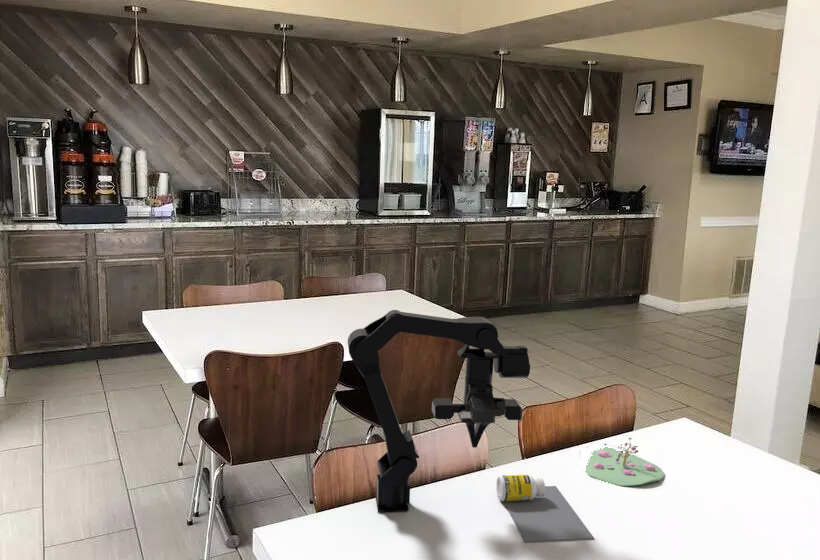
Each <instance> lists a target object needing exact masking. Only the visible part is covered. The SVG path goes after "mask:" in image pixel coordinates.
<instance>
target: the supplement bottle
mask: <svg viewBox="0 0 820 560" xmlns="http://www.w3.org/2000/svg"><path fill="white" fill-rule="evenodd" d="M545 486H546V485H545V481H544V479H543V477H533V476H532V475H531V474H505V475H498V477H497V479H496V488H497V490H496V494H497V498H498V500H499V501H500V502H503V501H521V500H532V499H533V498H534V497H535V496H537V497H540V496H544V494H545Z"/></svg>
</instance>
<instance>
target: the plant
mask: <svg viewBox="0 0 820 560" xmlns="http://www.w3.org/2000/svg"><path fill="white" fill-rule="evenodd" d="M628 440H629V441H631V440H632V437H629V438H628ZM627 446H628V447H627ZM625 447H627V449H626V448H625ZM638 447H639V446H638V445H633V446H632V444H631V443H628V442H625V443H624V447H623V444H620V446H617V448H618V449H621V450H623V451H625V453H623V451H616V450H615V449H613V448H608V447H605V448H603V450H602V449H601V448H600V450H598V449H597V450H598V451H596V450H595V451H593V453H592V452H591V453H592V455H593V456H591V457H590V459H589V460H590V461H589V460H588V462H589V463H587V464H588V465H586V471H585V472H586V473H587V474H588V475H587V474H586V473H585V472H584V473H585V474H586V475H587V476H589V477H591V476H592V477H593V478H592V477H591V478H592V479H594V478H595V480H596V479H598V480H597V481H599V480H601V481H600V482H602V481H604V482H603V483H606V482H608V483H607V484H610V483H611V484H610V485H613V484H614V486H619V487H634V486H640V485H645V484H649V483H653V482H654V483H655V482H659V481H661V480H662V479H664V478H665V472H664V471H663V469H662V468H660V467H659V466H658V465H657V464H654V463H652V462H650V461H648V460H646V459H643V458H642V457H639V456H638V455H635V454H637V453H639V450H638V449H637V448H638ZM630 449H631V450H630ZM629 453H630V454H629ZM631 454H633V455H631ZM590 455H591V454H590Z"/></svg>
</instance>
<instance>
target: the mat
mask: <svg viewBox="0 0 820 560" xmlns="http://www.w3.org/2000/svg"><path fill="white" fill-rule="evenodd" d="M496 489H497V487H496ZM502 502H503V505H504V506H505V507H506V509H507V511H508V513H509V515H510V516H511V519H512V521H513V522H514V524H515V526H516V527H517V530H518V531H519V533H520V535H521V537H522V539H523V540H524V542H525V543H544V542H546V543H547V542H561V541H563V542H565V541H581V540H583V541H585V540H594V539H595V537H594V536H593V533H591V531H590V530H589V528H588V527H587V526H586V525H585V523H584V522H583V521H582V520H581V518H580V517H579V515H578V514H577V513H576V511H575V510H574V508H573V507H572V506H571V504H570V503H569V502H568V501H567V499H566V498H565V496H564V495H563V494H562V492H561V491H560V490H559V488H558V487H557V485H550V486H549V485H548V486H547V485H545V494H544V496H540V497H537V496H535V497H534V498H533V499H532V500H521V501H502Z"/></svg>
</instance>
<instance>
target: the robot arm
mask: <svg viewBox="0 0 820 560" xmlns="http://www.w3.org/2000/svg"><path fill="white" fill-rule="evenodd" d="M399 333H404V334H414V335H419V336H427V337H436V338H442V339H449V340H450V339H451V340H454V341H457V342H460V343H462V344H463V347H461V348H460V349H458V350H457V351H456V352H457V355H458V356H459V357H460V359H466V360H465V362H466V363H465V376H464V393H463V403H453V401H452V399H451V398H450V397H449V398H448V397H447V398H446V397H441V398H439V397H438V398H437V397H436V398H434V399H432V402H431V412H432V414H433V417H434V419H435V420H451V419H452V418H453V417H454V416H455V414H457V416H458V418H459V420H460V422H461V423H463V424H465V427H466V428H467V432H468V436H469V441H470V443H471V447H472V448H473V449H474V448H478V447H477V446H478V445H479V443H480V441H481V438H482V436H483V434H484V432H485V430H486V429H487V427H488V426H489V425H491V424H495V422H496V417H498V418H499V417H502V416H504V417H505V418H506V419H507V420H508V421H521V420H522V419H523V408H522V407H521V405H520V404H519V402H518V401H517V400H516V399H513V398H504V397H494V394H493V391H494V389H493V374H494V373H495V374H498V376H499V378H501V379H527V378H528V377H529V375H530V372H531V364H530V357H529V354H528V353H529V352H528V351H529V350H528V348H527V347H526V346H525V345H517V346H512V345H511V346H510V345H509V346H507V345H506V346H504V345H503V344H502V343H501V342H500V341H499V331H498V329H497V328H496V325H494V324H493V323H492V322H491V321H489V320H488V319H487V318H486V317H483V316H465V317H464V316H463V317H460V318H459V317H458V318H450V317H443V316H442V317H441V316H434V315H427V314H419V313H412V312H405V311H400V310H397V309H392V310H389V311H387V313H385V314H384V315H383V316H381V317H380V318H378V319H376V320H374V321H371V322H370V323H369V324H367V325H366V326H365V327H363V328H357V329H356V328H355V330H353V331H352V332H350V334H349V336H348V338H347V346H348V347H347V348H348V354H349V356H350V358H351V360H352V361H353V363H354V365H355V366H356V368H357V370H358V371H359V373H360V374H361V376H362V377H363V378H364V381H365V383H366V387H367V389H368V393H369V396H370V398H371V401H372V403H373V406H374V409H375V412H376V414H377V418H378V420H379V423H380V426H381V429H382V431H383V435H384V442H385V447H386V448H385V450H386V452H385V453H384V454H383V455H381V457H380V458H379V459H378V460H377V462H376V463H377V468H378V472H379V473H378V474H377V475H376V495H375V502H376V509H377V512H378V513H388V512H389V513H390V512H391V513H392V512H407V511H409V504H410V500H411V497H410V496H411V485H410V481H409V478H410V477H411V475H412V474H414V472H415V471H416V469H417V468H418V460H417V459H420V456H419V452H418V450H417V447H416V444H415V443H414V438H413V436H412V433H411V431H410V429H408V430H406V431H404V430H403V429H402V427H401V426H400V424H399V419H398V418H397V414H396V412H395V409H394V406H393V403H392V401H391V397H390V395H389V392H388V389H387V386H386V382H385V381H384V378H383V374H382V372H381V365H380V364H381V363H380V359H379V352H378V351H379V350H380V349H383V348H384V347H385V346H386V344H388V343H389V342H390V341H391V340H392V339H393V338H394V337H395V336H396V335H397V334H399ZM469 346H471V347H474V348H471V347H469ZM485 350H489V351H485ZM493 371H494V372H493Z"/></svg>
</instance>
